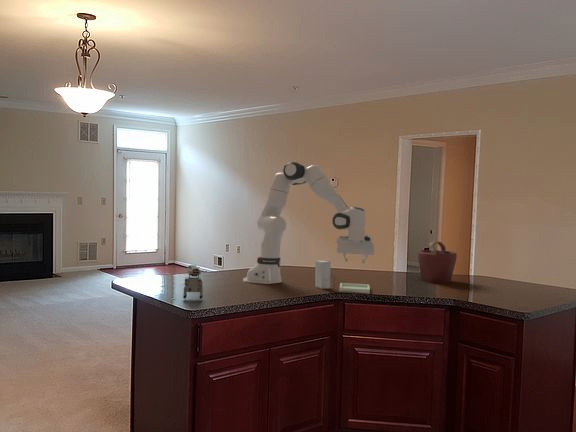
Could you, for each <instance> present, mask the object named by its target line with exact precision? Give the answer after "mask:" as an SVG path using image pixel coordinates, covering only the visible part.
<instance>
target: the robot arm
mask: <svg viewBox="0 0 576 432" xmlns="http://www.w3.org/2000/svg"><path fill="white" fill-rule="evenodd" d="M282 171H283V172H277V173H275V174H274V176H273V179H272V181H271V183H270V188H269V191H268V194H267V200H266V203H265V205H264V207H263V210H262V212H261V214H260V216H259V217H258V218H257V221H256V224H257V227H258V229H259V230H260V231H261V232H263V233H264V235H263V239H262V241H261V244H260V256H258V257H257V258H256V264H255V265H253V266H252V267H250V268H249V269H248V271H247V272H246V273H247V274H246V277H243V278H242V282H244V283H253V284H263V285H269V284H270V285H271V284H278V283H279V284H280V283H282V282H283V281H282V277H281V275H282V274H281V261H282V260H281V244H282V243H281V242H282V237H283V234H284V232H285V230H286V228H287V222H286V220H285V219H284V217H282V216H281V213H282V212H283V210H284V209H285V207H286V204H287V201H288V195H289V192H290V188H291V186H292V185H293V186H297V185H304V184H306V183H307V184H308V185H309V187H310V189H311V191H312V192H313V194H314V195H315V196H316V197H318V198H320V199H321V200H324V201H326V202H327V203H330V204H331V205H332V206H333V208H334V209H335V210H336V213H335V214H334V215H333V217H332V220H331V221H332V222H331V223H332V226H333V227H334V228H335V229H337V230H339V231H340V230H341V231H345V230H348V231H347V233H348V235H346V236H343V235H340V236H338V237H337V239H336V244H337V248H336V252H337V253H338V254H342V255H343V258H344V263H348V259H349V258H347V257H346V255H347V254H348V255H349V254H350V255H364V258H363V259H362V264H365V263H366V260H367V258H368V256H374V254H375V245H374V242H373V237H372V236H370V235H368V234H366V233H365V226H366V211H365V209H364V208H362V207H357V206H351V207H348V205H347V203H346V202H344V200H343V198H342V197H341V196H340V194H339V193H338V191H337V190H336V189H335V187H334V186H333V185H332V183H331V181H330V180H329V178H328V177H327V174H325V172H324V171H323V170H322V169H321V167H319V165H317V164H312V165H309V166H307V167H305V166H304V165H302V164H301V163H299V162H298V161H289V162H287V163H286V164H284V166H283V170H282Z"/></svg>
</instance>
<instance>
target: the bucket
mask: <svg viewBox="0 0 576 432" xmlns="http://www.w3.org/2000/svg"><path fill="white" fill-rule="evenodd" d="M436 244H438V246H439V248H440V249H439V250H437V249H436V247H435V245H436ZM428 246H429V248H430V249H421V250H419V251H418V254H417V256H418V264H419V270H420V278H421V281H422V282H425V283H429V284H440V285H441V284H442V285H444V284H450V283H451V281H452V277H453V272H454V270H455V265H456V261H457V259H458V258H457V257H458V255H457V254H458V253H457V252H453V251H448V250H447V249H446V246H445V244H444V243H443V242H442V241H436V240H434V241H431V242H430V243H429V244H428Z"/></svg>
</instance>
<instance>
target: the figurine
mask: <svg viewBox="0 0 576 432" xmlns="http://www.w3.org/2000/svg"><path fill="white" fill-rule="evenodd" d="M186 271H187V273H188V277H185V278H184V287H183V295H182V298H183V299H187V295H188V294H187V293H199V299H203V297H204V294H203V288H204V287H203V286H204V285H203V280H202V278H200V275H201V273H202V271H201V269H200V266H197V265H194V264H190V265H188V267H187V268H186Z"/></svg>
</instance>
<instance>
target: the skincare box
mask: <svg viewBox="0 0 576 432" xmlns="http://www.w3.org/2000/svg"><path fill="white" fill-rule="evenodd" d="M314 263H315V266H314V267H315V281H314V282H315V285H314V286H315V287H316V288H318V289H328V290H329V289H331V261H328V260H315V261H314Z"/></svg>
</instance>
